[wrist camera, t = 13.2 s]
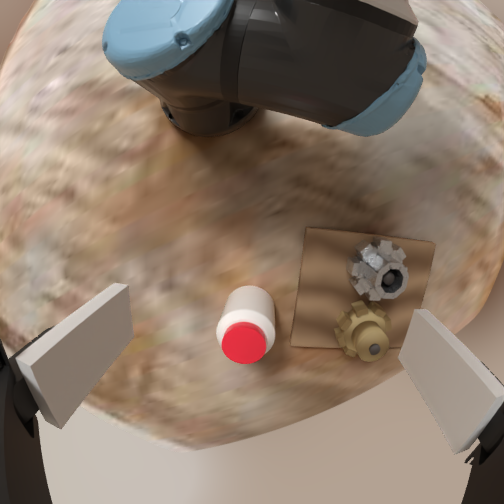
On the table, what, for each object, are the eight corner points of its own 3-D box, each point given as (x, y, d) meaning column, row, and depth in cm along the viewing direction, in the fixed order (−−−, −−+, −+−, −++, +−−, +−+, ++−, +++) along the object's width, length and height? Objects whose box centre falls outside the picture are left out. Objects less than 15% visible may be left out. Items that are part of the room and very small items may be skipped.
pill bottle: (276, 327, 43) (278, 368, 32) (229, 330, 44) (218, 371, 33) (272, 282, 41) (272, 316, 30) (221, 287, 42) (206, 321, 31)
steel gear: (351, 233, 37) (367, 244, 30) (403, 239, 37) (426, 250, 30) (341, 291, 39) (354, 311, 32) (392, 293, 39) (411, 312, 32)
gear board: (305, 226, 39) (315, 239, 30) (431, 241, 38) (462, 255, 29) (289, 341, 43) (293, 375, 34) (404, 342, 42) (424, 370, 34)
